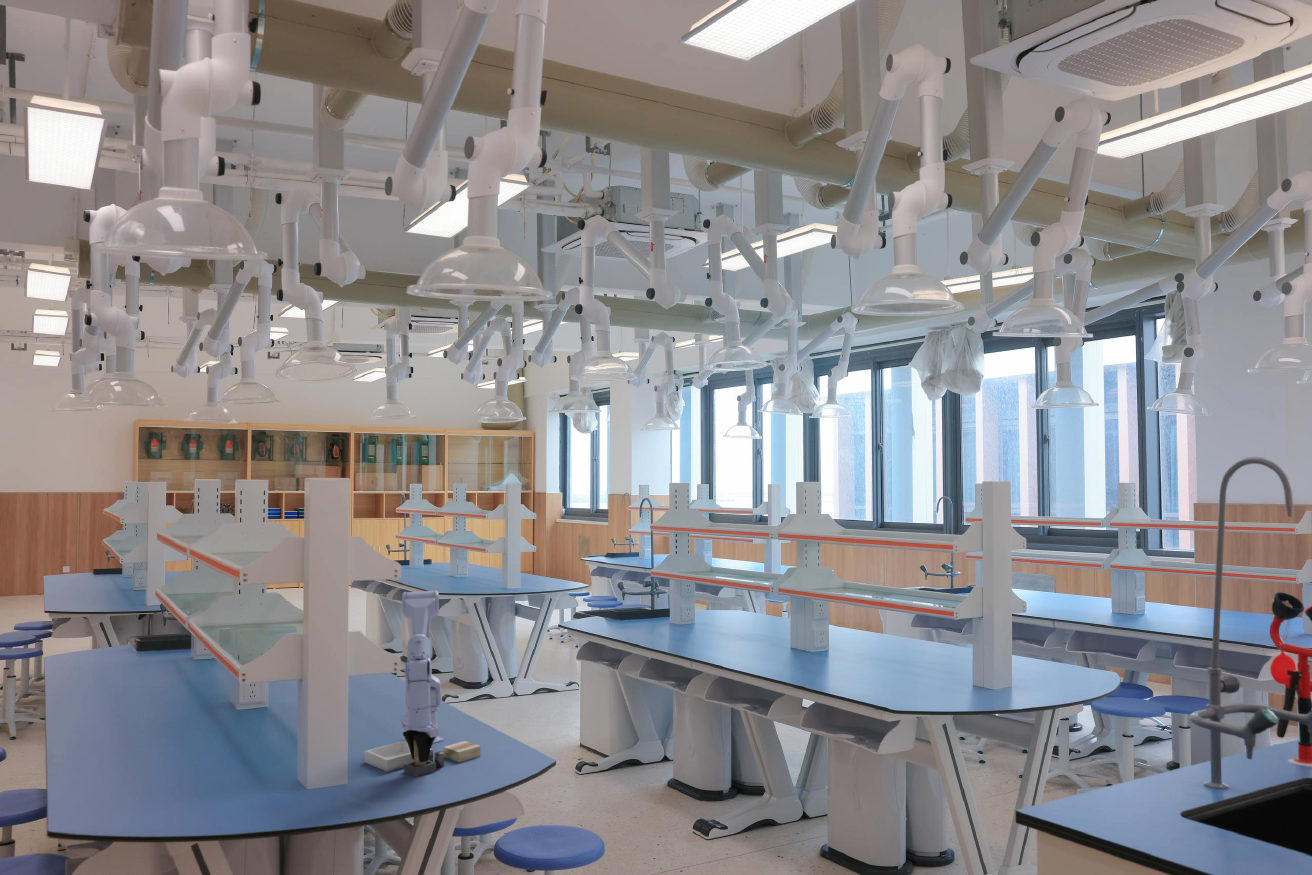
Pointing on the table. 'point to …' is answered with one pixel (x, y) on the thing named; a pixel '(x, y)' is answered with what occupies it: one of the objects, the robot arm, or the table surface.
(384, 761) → the tray
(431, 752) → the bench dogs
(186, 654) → the table surface
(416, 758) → the dowel
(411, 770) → the dowel collar
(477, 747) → the maple block
